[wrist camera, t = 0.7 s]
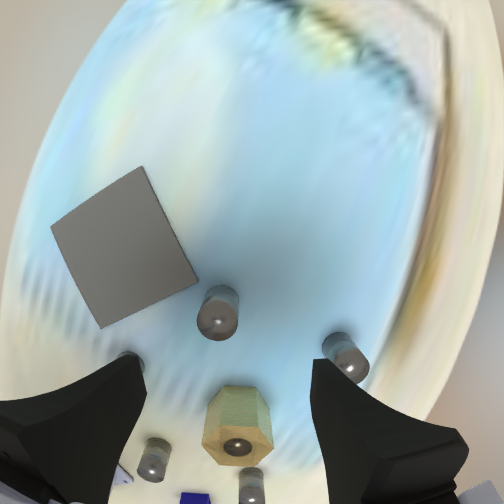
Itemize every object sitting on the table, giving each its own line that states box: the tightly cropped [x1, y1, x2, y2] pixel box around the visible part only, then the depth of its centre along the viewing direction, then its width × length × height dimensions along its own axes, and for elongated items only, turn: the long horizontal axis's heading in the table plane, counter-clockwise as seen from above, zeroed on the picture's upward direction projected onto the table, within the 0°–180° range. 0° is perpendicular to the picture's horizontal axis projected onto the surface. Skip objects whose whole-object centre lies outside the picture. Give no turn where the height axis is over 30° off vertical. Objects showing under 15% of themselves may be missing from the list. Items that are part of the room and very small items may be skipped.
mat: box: [50, 166, 199, 329], centre depth 20 cm, size 9×9×1 cm
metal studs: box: [116, 285, 370, 504], centre depth 21 cm, size 21×20×4 cm
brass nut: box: [201, 386, 274, 467], centre depth 20 cm, size 4×5×5 cm
